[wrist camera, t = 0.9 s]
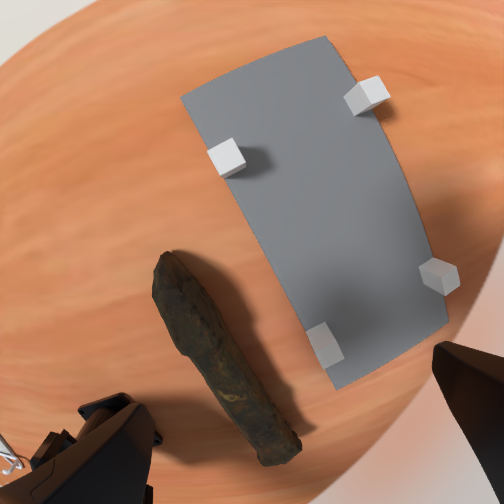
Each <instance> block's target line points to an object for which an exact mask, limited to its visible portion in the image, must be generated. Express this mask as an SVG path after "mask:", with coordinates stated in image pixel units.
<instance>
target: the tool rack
mask: <svg viewBox="0 0 504 504" xmlns="http://www.w3.org/2000/svg"><path fill="white" fill-rule="evenodd" d="M388 98H390V95H389V93H388V91H387V90H386V88H385V86H384V84H383V83H382V81H381V79H380V78H379V76H375V77H372V78H369V79H366V80H363V81H360V82H358V83H356V81H355V79H354V78H353V76H352V74H351V73H350V71H349V70H348V68H347V66H346V65H345V63H344V62H343V60H342V59H341V57H340V56H339V54H338V53H337V51H336V50H335V48H334V47H333V45H332V44H331V43H330V41H329V40H328V38H327V37H326V36H322V37H319V38H316V39H313V40H309V41H306V42H303V43H300V44H297V45H295V46H292V47H289V48H286V49H283V50H281V51H278V52H276V53H273V54H270V55H268V56H265V57H263V58H260V59H258V60H256V61H253V62H251V63H248V64H246V65H244V66H242V67H239V68H237V69H235V70H233V71H230V72H228V73H226V74H224V75H222V76H220V77H218V78H216V79H214V80H212V81H210V82H208V83H206V84H204V85H202V86H200V87H198V88H196V89H194V90H192V91H190V92H189V93H187V94H185V95H183V96H181V97H180V99H181V101H182V102H183V104H184V106H185V108H186V110H187V112H188V113H189V115H190V117H191V119H192V121H193V122H194V124H195V126H196V128H197V130H198V132H199V133H200V135H201V137H202V139H203V141H204V142H205V144H206V146H207V148H208V151H207V153H208V154H209V156H210V158H211V160H212V162H213V164H214V165H215V167H216V169H217V171H218V173H219V175H220V176H221V177H222V178H224V179H225V181H226V183H227V185H228V187H229V188H230V190H231V192H232V194H233V196H234V198H235V200H236V201H237V203H238V205H239V207H240V209H241V211H242V213H243V214H244V216H245V218H246V220H247V222H248V224H249V226H250V227H251V229H252V231H253V233H254V235H255V237H256V239H257V241H258V242H259V244H260V246H261V248H262V250H263V252H264V254H265V256H266V257H267V259H268V261H269V263H270V265H271V267H272V269H273V271H274V272H275V274H276V276H277V278H278V280H279V282H280V284H281V286H282V288H283V289H284V291H285V293H286V295H287V297H288V299H289V301H290V303H291V305H292V307H293V308H294V310H295V312H296V314H297V316H298V318H299V320H300V322H301V324H302V326H303V328H304V329H305V331H306V334H307V336H308V338H309V341H310V343H311V346H312V348H313V350H314V353H315V355H316V357H317V358H318V360H319V362H320V364H321V366H322V368H323V370H324V369H325V370H326V372H327V374H328V376H329V377H330V379H331V381H332V383H333V385H334V387H335V389H336V390H338V389H340V388H342V387H344V386H346V385H348V384H350V383H352V382H354V381H356V380H358V379H359V378H361V377H363V376H365V375H367V374H369V373H370V372H372V371H374V370H376V369H377V368H379V367H381V366H383V365H384V364H386V363H388V362H389V361H391V360H393V359H394V358H396V357H398V356H399V355H401V354H402V353H404V352H406V351H407V350H409V349H410V348H412V347H413V346H415V345H417V344H418V343H420V342H421V341H423V340H424V339H426V338H427V337H428V336H430V335H431V334H433V333H434V332H436V331H437V330H439V329H440V328H441V327H443V326H444V325H445V324H447V323H448V322H449V319H448V314H447V309H446V305H445V300H444V296H446V295H448V294H449V293H451V292H452V291H453V290H455V289H456V288H457V287H459V286H460V285H461V284H460V280H459V275H458V271H457V267H456V266H454V265H452V264H449V263H447V262H444V261H442V260H439V259H437V258H434V257H433V255H432V252H431V248H430V245H429V242H428V239H427V236H426V233H425V230H424V227H423V224H422V221H421V218H420V215H419V213H418V210H417V207H416V205H415V202H414V199H413V197H412V194H411V192H410V189H409V187H408V184H407V182H406V179H405V177H404V175H403V172H402V170H401V168H400V166H399V163H398V161H397V159H396V157H395V154H394V152H393V150H392V148H391V146H390V144H389V142H388V140H387V138H386V136H385V134H384V132H383V130H382V128H381V126H380V124H379V122H378V120H377V118H376V116H375V114H374V112H373V111H372V108H374V107H376V106H377V105H379V104H380V103H382V102H384V101H385V100H387V99H388ZM443 295H444V296H443Z"/></svg>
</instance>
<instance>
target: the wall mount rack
mask: <svg viewBox="0 0 504 504" xmlns="http://www.w3.org/2000/svg"><path fill="white" fill-rule="evenodd" d="M3 452H4V453H8V454H11V455H8V454H4V453H3ZM0 455H1V456H3V457H4V458H5V459H6V460H7V461H8V462H9V463H10V464H12V466H11V468H10V469H9V470H5V469H3V470H2V471H3V473H4V474H10V473H12V472H13V470H14V469H15V467H16V468H18V469H22V468H23V466H22V464H21V462H20V461H19V458H18V457H16V456H15V455H14V454H13V451H12V450H11V448H10V447H9V446H8V445H7V443H6V442H5V441H4V439H3V438H2V437H1V436H0ZM7 457H8V458H11V459H14V460H16V461H15V462H14V463H13V462H12V461H10V460H9V459H8V458H7ZM17 464H19V466H18V465H17Z"/></svg>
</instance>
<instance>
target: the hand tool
mask: <svg viewBox="0 0 504 504" xmlns="http://www.w3.org/2000/svg"><path fill="white" fill-rule="evenodd" d="M152 298H153V300H154V302H155V303H156V306H157V308H158V310H159V313H160V315H161V317H162V318H163V320H164V322H165V324H166V327H167V329H168V331H169V334H170V336H171V338H172V340H173V342H174V344H175V346H176V348H177V349H178V350H179V352H180V353H181V354H182V355H185V356H188V357H189V358H190V359H191V361H192V362H193V363H194V364H195V366H196V367H197V369H198V370H199V372H200V373H201V374H202V376H203V377H204V379H205V381H206V383H207V385H208V386H209V387H210V389H211V390H212V392H213V393H214V395H215V396H216V398H217V400H218V401H219V403H220V404H221V405H222V407H223V408H224V410H225V411H226V412H227V414H228V415H229V417H230V418H231V419H232V420H233V422H234V423H235V425H236V426H237V427H238V429H239V430H240V431H241V433H242V434H243V435H244V436H245V438H246V439H247V440H248V441H249V442H250V444H251V445H252V446H253V447H254V449H255V450H256V451H257V458H258V460H259V461H260V463H261V464H262V466H266V467H267V466H275V465H279V464H286V463H287V462H289V461H290V460H291V459H292V458H293V457H294V456H296V455H297V454H298V453H299V452H301V451H302V443H301V440H300V439H299V438H298V436H297V433H296V432H295V431H292V430H291V428H290V425H289V424H287V422H286V421H284V420H283V418H282V417H281V415H280V412H279V411H278V409H277V408H276V406H275V404H274V403H271V401H270V399H269V398H268V396H267V395H266V393H265V391H264V389H263V387H262V385H261V383H260V382H259V381H258V379H257V378H256V376H255V375H254V373H253V372H252V370H251V368H250V367H249V365H248V364H247V362H246V360H245V359H244V357H243V355H242V353H241V352H240V350H239V348H238V347H237V345H236V344H235V342H234V340H233V338H232V336H231V335H230V333H229V331H228V330H227V328H226V326H225V324H224V322H223V320H222V317H221V314H220V311H219V310H218V308H217V306H216V305H215V303H214V302H213V300H212V299H211V298H210V296H209V295H208V293H207V292H206V291H205V289H204V288H203V287H202V286H201V285H200V284H199V282H198V281H197V280H196V279H195V278H194V276H193V275H192V274H191V273H190V272H189V271H188V269H187V268H186V267H185V266H184V265H183V264H182V263H181V262H180V261H179V260H178V259H177V258H176V257H175V256H174V255H173V254H172V253H171V252H169V251H166V252H164V253H163V254H162V255H160V258H159V261H158V263H157V265H156V268H155V270H154V280H153V285H152Z"/></svg>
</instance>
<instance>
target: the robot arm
mask: <svg viewBox="0 0 504 504" xmlns="http://www.w3.org/2000/svg"><path fill="white" fill-rule="evenodd" d="M432 371H433V374H434V376H435V378H436V380H437V382H438V384H439V387H440V389H441V391H442V393H443V395H444V398H445V400H446V402H447V404H448V406H449V409H450V410H451V412H452V414H453V416H454V417H455V419H456V421H457V423H458V424H459V426H460V428H461V429H462V431H463V433H464V435H465V436H466V438H467V440H468V442H469V444H470V445H471V447H472V449H473V451H474V453H475V454H476V456H477V458H478V460H479V462H480V464H481V466H482V468H483V470H484V472H485V474H486V476H487V478H488V480H489V481H490V483H491V486H492V488H493V490H494V492H495V494H496V496H497V498H498V500H499V502H500V504H504V357H500V356H497V355H493V354H489V353H486V352H483V351H479V350H476V349H472V348H469V347H466V346H462V345H459V344H456V343H452V342H449V341H444V342H441V343H438V344H436V345H435V346H434V350H433V360H432ZM119 398H120V399H122V400H120V399H119ZM78 412H79V414H80V415H81V416H82V417H83V418H84V420H85V421H86V422H85V424H84V426H83V427H82V429H81V430H80V432H79V434H78V435H77V437H76V438H74V437H72V436H71V435H70V434H69V432H67V431H66V430H65V429H63V431H62V432H61V433H60V434H59V433H55V432H50V433H49V435H48V436H47V438H46V439H45V440H44V442H43V443H42V445H41V446H40V447H39V449H38V450H37V451H36V453H35V454H34V456H33V457H32V458H31V460H30V461H29V462H30V465H31V469H32V472H30V473H28V474H26V475H24V476H23V477H21V478H19V479H17V480H15V481H13V482H11V483H9V484H7V485H5V486H3V487H0V504H153V487H152V486H150V485H148V484H147V485H146V483H147V479H148V474H149V470H150V464H151V456H152V447H153V446H157V445H161V444H162V442H163V438H162V437H161V436H160V435H159V434H158V433H157V432H156V431H155V424H154V421H153V419H152V417H151V416H150V414H149V412H148V410H147V408H146V407H145V405H144V404H142V403H130V402H129V400H128V399H127V398H126V397H125V396H124V395H123V394H120V393H119V394H115V395H113V396H110V397H107V398H104V399H101V400H98V401H95V402H92V403H89V404H86V405H83V406H80V407H79V408H78Z"/></svg>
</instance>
